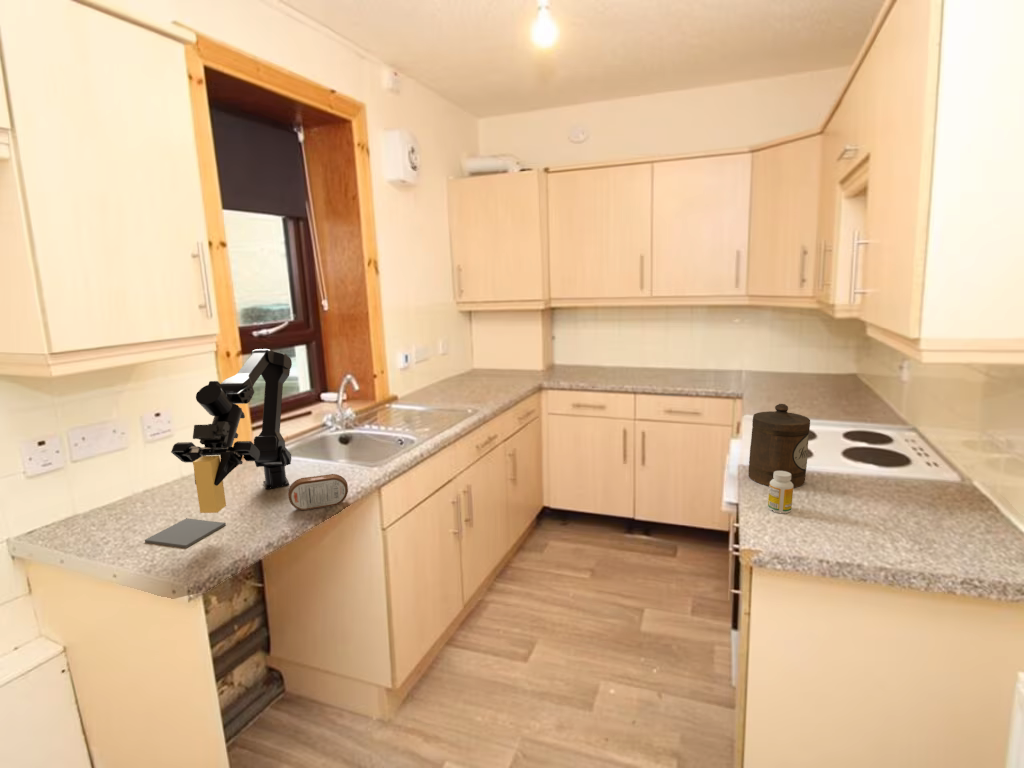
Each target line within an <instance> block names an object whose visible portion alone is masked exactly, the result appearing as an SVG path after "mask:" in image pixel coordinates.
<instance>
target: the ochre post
mask: <svg viewBox="0 0 1024 768" xmlns="http://www.w3.org/2000/svg"><path fill="white" fill-rule="evenodd" d="M220 461H221V457H220V455H209V456H202V457H200V458H198V459H197V460H195V461H193V462H192V466H193V474H194V473H195V475H194V481H195V480H196V484H195V486H196V487H195V488H196V492H197V501H198V506H199V512H200V514H211V513H213V514H218V513H219V512H220V511H221V510H222V509H224V508H225V507H226V506H227V503H226V495H225V487H224V481H223V480H224V479H223V480H222V481H221V482H220V484H219V485H217V486H216V485H215V484H214V482H215V477H216V474H217V471H218V468H219V464H220Z"/></svg>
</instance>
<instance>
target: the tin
mask: <svg viewBox="0 0 1024 768" xmlns="http://www.w3.org/2000/svg"><path fill="white" fill-rule="evenodd" d="M348 494H349V486H348V482H347V480H346V479H345V478H344V477H343V476H341V474H340V475H339V474H336V473H331V474H329V473H328V474H322V475H316V476H315V475H313V476H307V477H300V478H298V479H296V480H295V481H293V482H291V485H290V486H289V488H288V493H287V495H288V500H289V504H290V505H292V507H294V508H295V509H296V510H300V511H307V510H314V509H320V508H328V507H334V506H335V507H336V506H338V505H339V504H342V503H343V502H344V501H345V500H346V498H347V497H348Z"/></svg>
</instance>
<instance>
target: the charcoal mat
mask: <svg viewBox="0 0 1024 768" xmlns="http://www.w3.org/2000/svg"><path fill="white" fill-rule="evenodd" d="M225 526H226V522H220V521H211V520H205V519H195V518H188V517H186V518H185V519H182V520H180V521H178V522H177V523H175V524H173V525H171V526H169V527H167V528H165V529H163V530H161V531H159V532H156V533H155V534H153V535H151V536H150V537H148V538H146V539H145V538H144V542H145V543H147V544H148V543H149V544H154V545H155V544H156V545H163V546H170V547H177V548H184V549H186V548H189V547H190V546H192V545H194V544H195V543H197V542H199V541H200V540H203V539H205V538H206V537H208V536H209V535H211V534H213V533H215V532H216V531H219V529H222V528H223V527H225Z"/></svg>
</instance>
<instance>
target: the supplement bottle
mask: <svg viewBox="0 0 1024 768" xmlns="http://www.w3.org/2000/svg"><path fill="white" fill-rule="evenodd" d="M773 478H774V479H772V480H771V481H770V485H769V488H768V498H767V499H768V500H767V509H768V510H769V509H770V510H769V511H771V510H773V511H775V512H774V513H776V512H781V513H785V514H789V513H790V512H792V509H793V508H792V507H793V506H792V505H793V496H794V495H793V494H794V487H793V483H792V482H791V481H790V480H791V473H789V472H786V471H775V472H774V474H773ZM773 511H772V512H773ZM788 512H789V513H788ZM781 513H780V514H781Z"/></svg>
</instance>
